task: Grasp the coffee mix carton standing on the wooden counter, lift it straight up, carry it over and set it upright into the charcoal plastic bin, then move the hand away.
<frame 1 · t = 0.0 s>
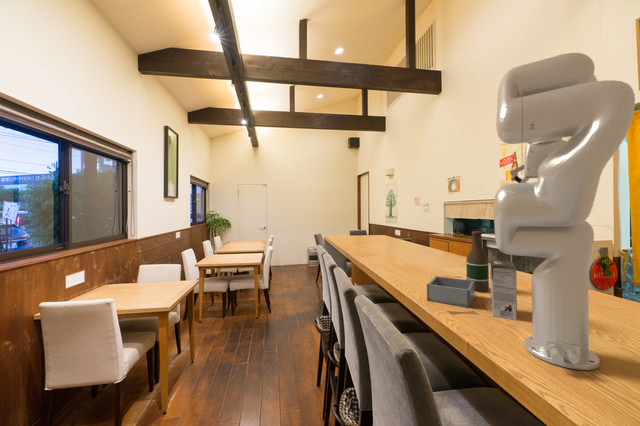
hand: (545, 196, 79), 37 cm above the table, tool pointing down, fingers open, 9 cm apart
beer bottle: (477, 290, 107), on the table
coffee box: (503, 313, 83), on the table
bin: (451, 298, 98), on the table
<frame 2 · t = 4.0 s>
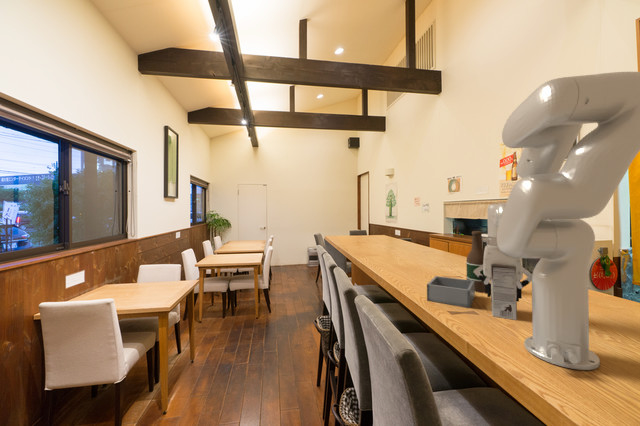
hand: (502, 297, 83), 5 cm above the table, tool pointing down, fingers closed on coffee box, 6 cm apart
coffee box: (503, 313, 83), on the table, touching gripper
everything else where it was.
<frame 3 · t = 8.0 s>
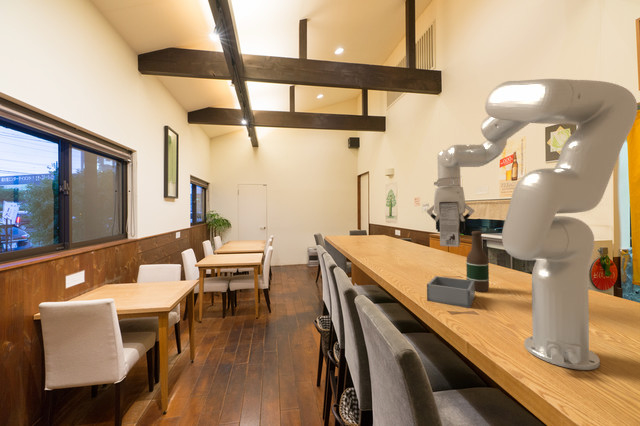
hand: (450, 231, 97), 25 cm above the table, tool pointing down, fingers closed on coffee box, 6 cm apart
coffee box: (450, 245, 97), point 20 cm above the table, touching gripper
everything else where it was.
when the fingers open (8 cm above the table, at t = 12.0 s): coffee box drops 2 cm, resting on bin.
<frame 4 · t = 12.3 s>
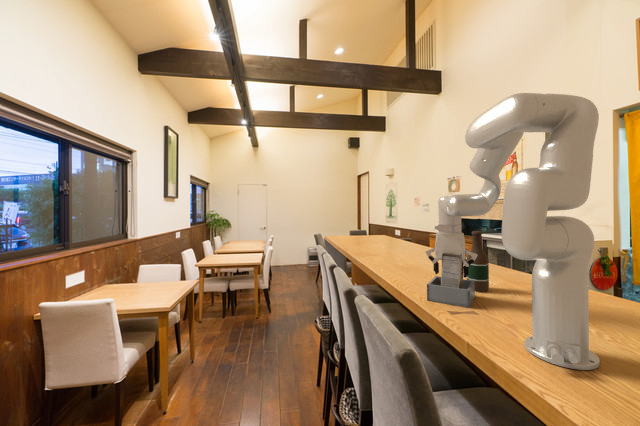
hand: (450, 275, 97), 9 cm above the table, tool pointing down, fingers open, 9 cm apart
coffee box: (451, 296, 97), point 1 cm above the table, touching bin
everything else where it was.
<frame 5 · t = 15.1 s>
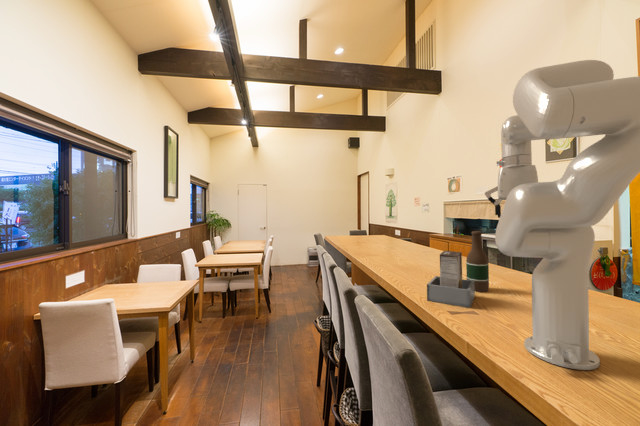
hand: (517, 217, 82), 30 cm above the table, tool pointing down, fingers open, 9 cm apart
nothing on the table moved.
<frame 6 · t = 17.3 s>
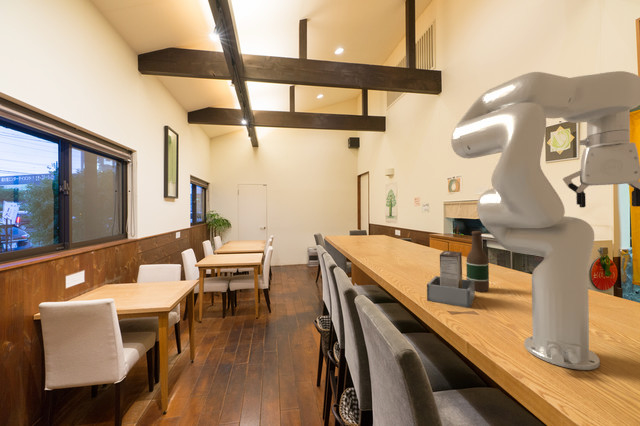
hand: (608, 206, 68), 33 cm above the table, tool pointing down, fingers open, 9 cm apart
nothing on the table moved.
at the end: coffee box inside the target area on the bin (0.3 cm from its centre), point 0.8 cm above the bin's base; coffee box tilted 0°; the gripper is holding nothing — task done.
